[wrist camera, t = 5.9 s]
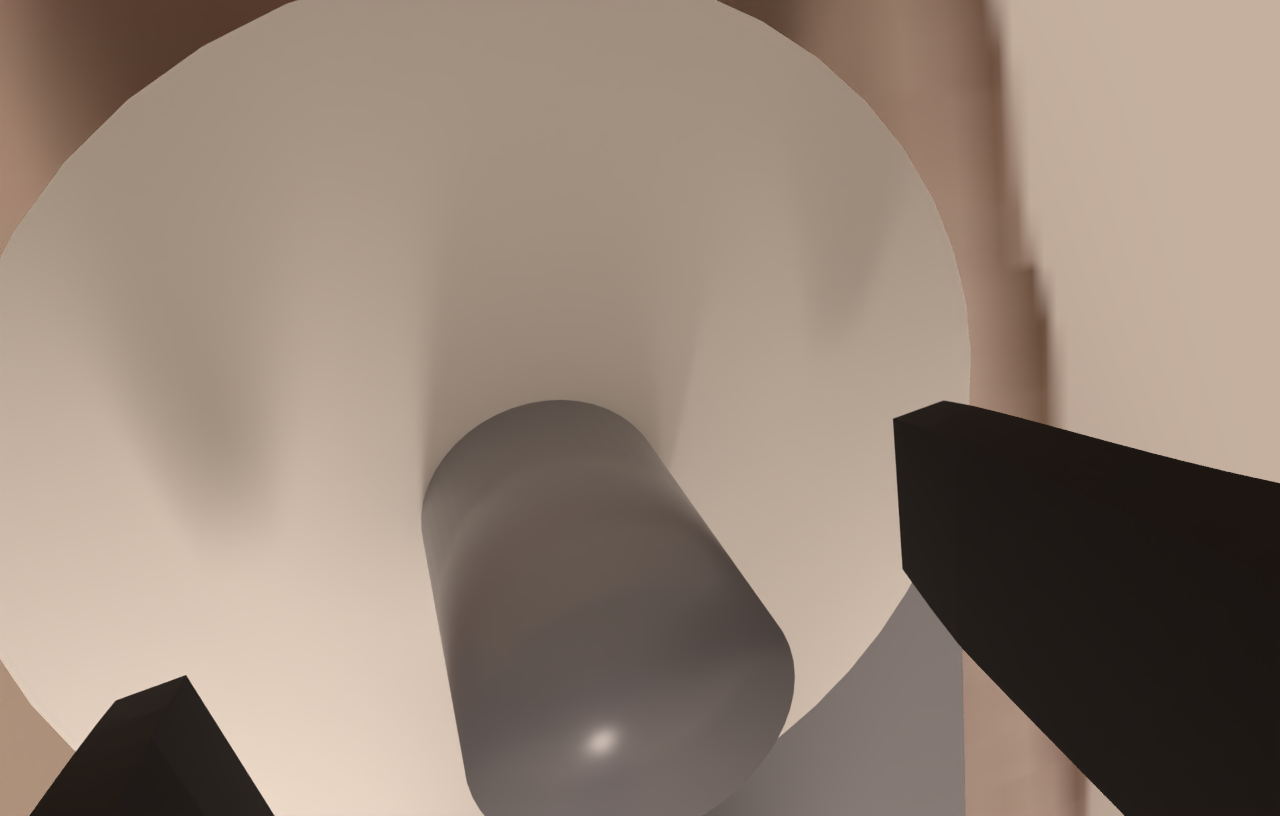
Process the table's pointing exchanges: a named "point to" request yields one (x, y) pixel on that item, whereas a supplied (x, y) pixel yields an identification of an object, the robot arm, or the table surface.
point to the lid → (471, 402)
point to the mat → (874, 734)
